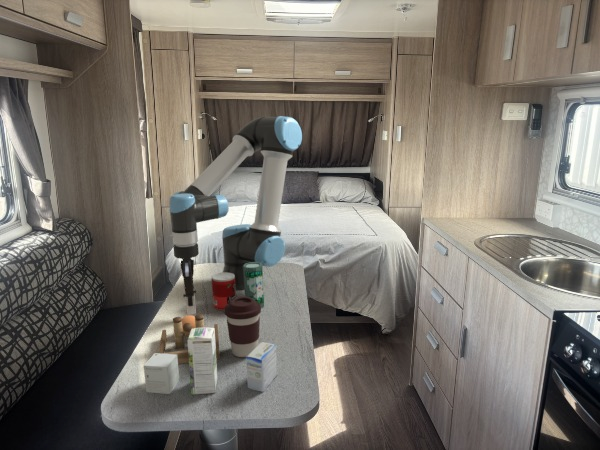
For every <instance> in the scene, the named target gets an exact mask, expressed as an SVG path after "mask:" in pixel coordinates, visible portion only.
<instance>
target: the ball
mask: <svg viewBox="0 0 600 450" xmlns="http://www.w3.org/2000/svg"><path fill="white" fill-rule="evenodd" d="M195 316H196V315H195ZM195 316H194V315H185V316H183V317H181V318H182V328H183V325H184V324H185V323H190V324H191V325H192V329H194V328H196V326H195ZM183 336H185V333H184V330H183Z"/></svg>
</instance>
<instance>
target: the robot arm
mask: <svg viewBox="0 0 600 450" xmlns="http://www.w3.org/2000/svg"><path fill="white" fill-rule="evenodd" d="M302 140H303V133H302V129H301V126H300V124H299V123H298V121H297V120H296V119H294V118H293V117H291V116H283V115H280V116H259V117H256V118H254V119H252V120H251V121H250V122H248V123H246V124H245V125H244V126H243V127H242V128H240V129H239V130H238V132H236V134H235V135H234V136H232V142H231V143H230V144H229V145H227V147H226V148H225V149H224V150H223V151H222V152H221V153H220V154H219V155H218V156H217V157H216V158H215V159H214V160H213V161H212V162H211V163H210V164H209V165H208V166H207V167H206V168H205V170H203V171H202V173H201V174H199V175H198V176H197V177H196V179H195V180H194V181H193V182H192V183H190V185H189V186H188V187H187V188H186V189H184V191H183V190H181V191H177V192H175V193H174V194H172V195H171V196H170V197H169V209H168V211H169V213H170V215H169V216H170V225H171V232H172V233H171V234H170V235H169V236H170V238H172V243H173V246H172V247H173V256H174V257H175V258H177V259H180V269H181V276H182V278H183V286H184V294H183V295H182V296H183V298H185V305H186V316H188V315H192V316H194V315H197V311H196V298H195V294H196V293H197V290H194V289H195V286H194V275H195V274H194V273H195V272H194V271H195V269H194V265H195V262H194V259H193V258H195V257H198V256H199V253H200V252H199V244H198V241H199V240H198V228H197V226H198V225H197V223H202V222H206V221H212V220H219V219H221V218H224V217H226V216H227V215H228V212H229V201H228V199H227V197H225V196H224V195H223V194H213V193H214V192H215V191H216V190H217V189H219V187H220V186H221V185H222V183H224V182H225V181H226V180H227V179H228V177H229V176H230V175H231V174H233V172H234V171H235V170H236V169H237V168H238V167H239V166H240V165H241V164H242V162H244V160H245V159H246V158H247V157H252V156H253V155H254V154H255V153H256V152H258V151H259V150H260V153H261V155H262V157H263V162H262V163H263V164H262V169H261V176H260V182H259V189H258V196H257V201H256V210H255V216H254V222H253V223H252V224H250V223H249V224H248V223H247V224H246V223H245V224H236V225H231V226H227V227H225V228H224V229H223V230H222V237H221V239H222V250H223V265H224V266H223V269H222V272H221V273H223V272H227V273H232V274H234V275H235V288H236V290H240V291H241V290H244V271H243V265H244V264H246V263H249V262H259V263H262V267H266V268H271V267H275V266H276V265H277V264H279V263H280V262H281V260H282V258H283V257H284V255H285V252H286V243H285V240H284V239H283V238H282V237H281V233H282V230H281V228H280V227H279V220H280V213H281V207H282V199H283V194H284V187H285V182H286V181H285V180H286V173H287V166H288V161H289V160H291V158H293V157H294V156H293V153H294V151H295V150H296V151H297V150H298V149H299V147H300V146H301V144H302Z"/></svg>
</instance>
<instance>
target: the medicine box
mask: <svg viewBox="0 0 600 450" xmlns="http://www.w3.org/2000/svg"><path fill="white" fill-rule="evenodd" d="M245 358H246V359H245V360H246V361H245V362H246V377H247V378H246V379H247V380H246V381H247V388H248V389H250V390H253V391H258V392H260V393H262V392H265V391H266V389H267V388H268V387H269V386H270V384H271V383H272V382H273V381H274V380H275V378H276V377H277V376H278V346H277V344H273V343H270V342H263V341H260V343H258V346H257V347H256V348H255V349H254V350H253V351H252V352H251V353H250V354H249V355H248V356H247V357H245Z"/></svg>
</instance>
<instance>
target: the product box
mask: <svg viewBox="0 0 600 450" xmlns="http://www.w3.org/2000/svg"><path fill="white" fill-rule="evenodd" d="M166 353H167V352H165V353H163V354H160V353H158V352H156V353H155V352H154V353H153V354H152V355H151V357H149V359H148V360H147V361H146V363H145V364H144V365H143V370H144V371H143V373H144V380H145V391H146V393H153V394H166V395H170V394H171V393H172V392H173V391H174V389H175V387H176V386H177V384H178V382H179V381H180V374H179V373H180V371H179V369H180V368H179V364H178V357H177V354H166Z"/></svg>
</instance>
